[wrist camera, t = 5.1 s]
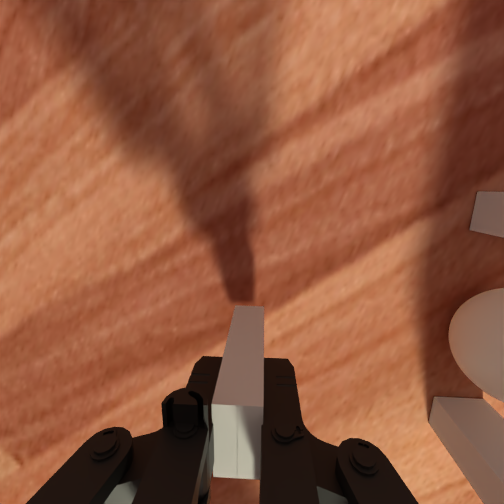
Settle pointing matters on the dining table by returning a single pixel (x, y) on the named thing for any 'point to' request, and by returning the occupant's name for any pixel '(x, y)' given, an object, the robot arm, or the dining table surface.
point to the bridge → (472, 409)
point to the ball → (481, 341)
